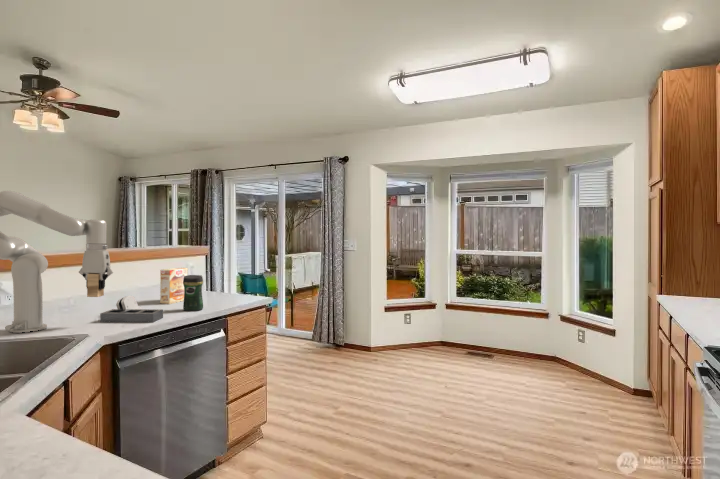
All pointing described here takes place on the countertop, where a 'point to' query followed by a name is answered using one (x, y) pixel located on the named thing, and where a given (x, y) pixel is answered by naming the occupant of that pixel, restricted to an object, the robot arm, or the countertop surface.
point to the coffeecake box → (172, 285)
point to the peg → (94, 285)
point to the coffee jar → (193, 293)
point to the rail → (131, 315)
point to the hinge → (127, 303)
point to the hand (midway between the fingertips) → (95, 288)
